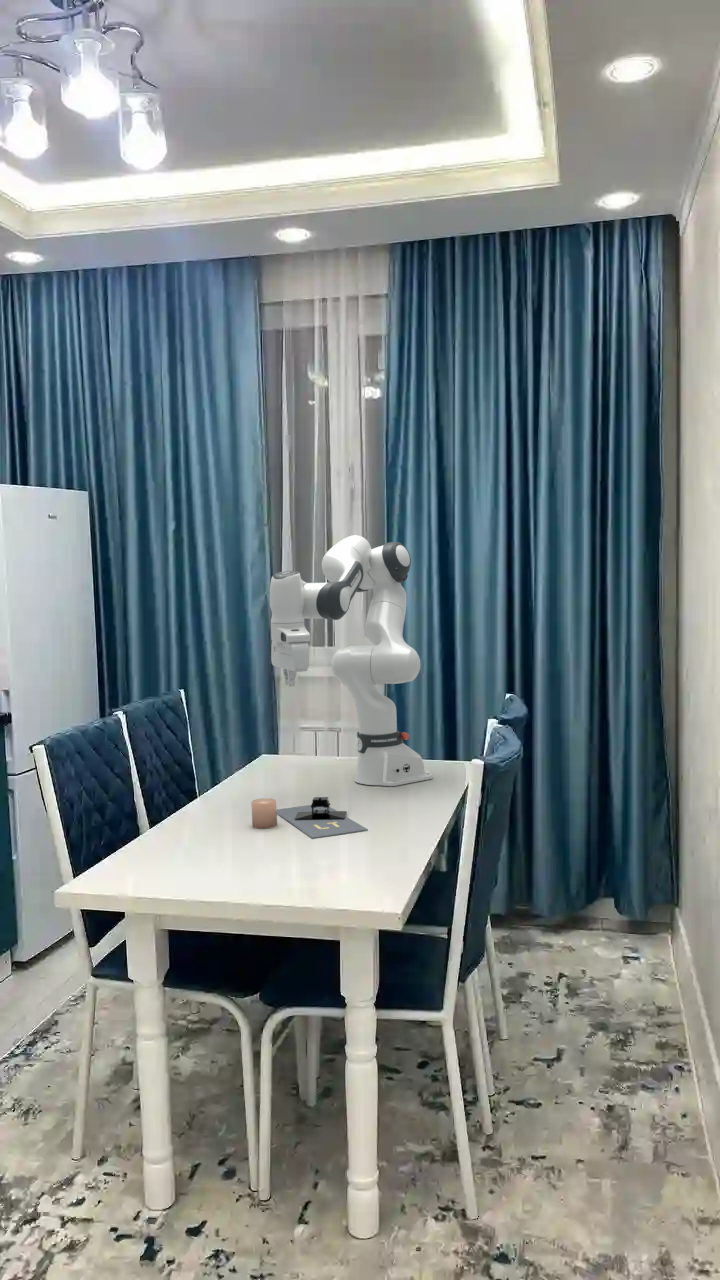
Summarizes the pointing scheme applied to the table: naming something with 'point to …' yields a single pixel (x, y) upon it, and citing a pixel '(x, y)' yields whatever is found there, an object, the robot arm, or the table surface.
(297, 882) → the table surface
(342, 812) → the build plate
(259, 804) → the peach rounded cylinder
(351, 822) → the mat
